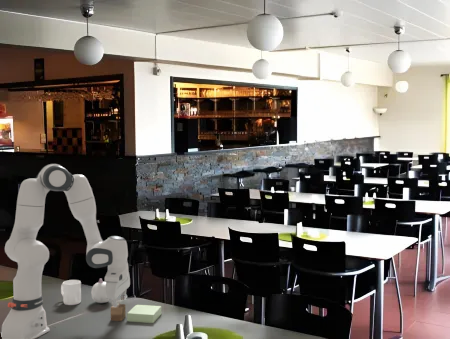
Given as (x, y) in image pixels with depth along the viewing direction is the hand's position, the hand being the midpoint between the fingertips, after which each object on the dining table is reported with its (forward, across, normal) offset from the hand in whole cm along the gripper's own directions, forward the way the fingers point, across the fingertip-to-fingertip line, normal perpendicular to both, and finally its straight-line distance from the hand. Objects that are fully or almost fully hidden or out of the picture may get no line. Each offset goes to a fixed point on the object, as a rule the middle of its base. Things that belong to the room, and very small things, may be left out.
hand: (119, 302), depth 247 cm
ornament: (+7, -19, -16) cm, 26 cm away
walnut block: (+7, +1, 0) cm, 7 cm away
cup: (+7, -18, -32) cm, 37 cm away
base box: (+8, -3, +11) cm, 13 cm away
